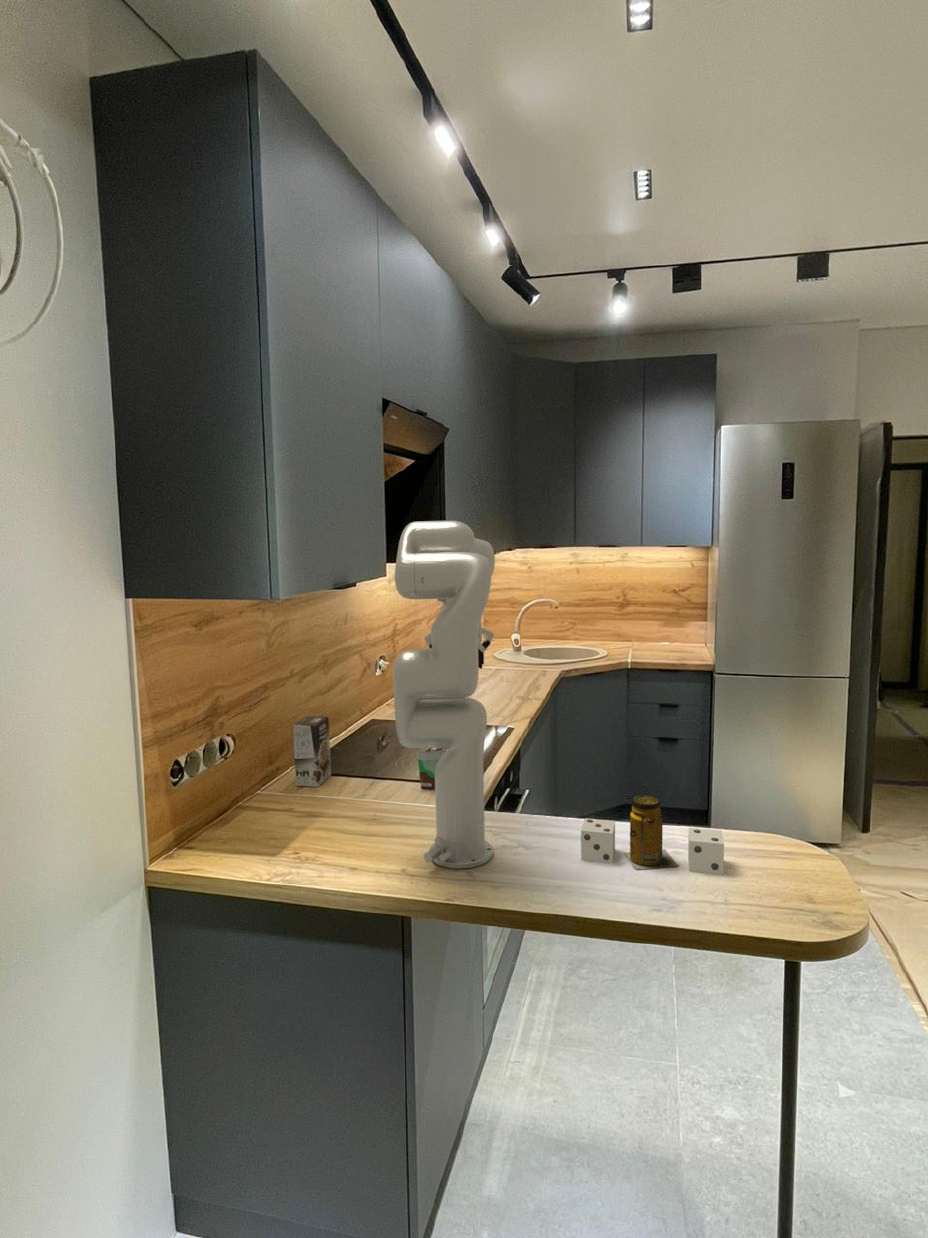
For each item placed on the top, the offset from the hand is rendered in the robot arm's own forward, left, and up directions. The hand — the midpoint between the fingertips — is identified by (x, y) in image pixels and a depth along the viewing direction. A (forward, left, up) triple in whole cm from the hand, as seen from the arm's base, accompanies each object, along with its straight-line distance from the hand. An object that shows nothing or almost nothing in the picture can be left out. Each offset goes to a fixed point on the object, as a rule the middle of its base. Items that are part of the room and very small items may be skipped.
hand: (460, 668), depth 177 cm
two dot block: (-12, -63, -30) cm, 71 cm away
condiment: (-15, -54, -30) cm, 63 cm away
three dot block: (-18, -44, -30) cm, 56 cm away
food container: (-2, +5, -30) cm, 31 cm away
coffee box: (-16, +36, -30) cm, 50 cm away
